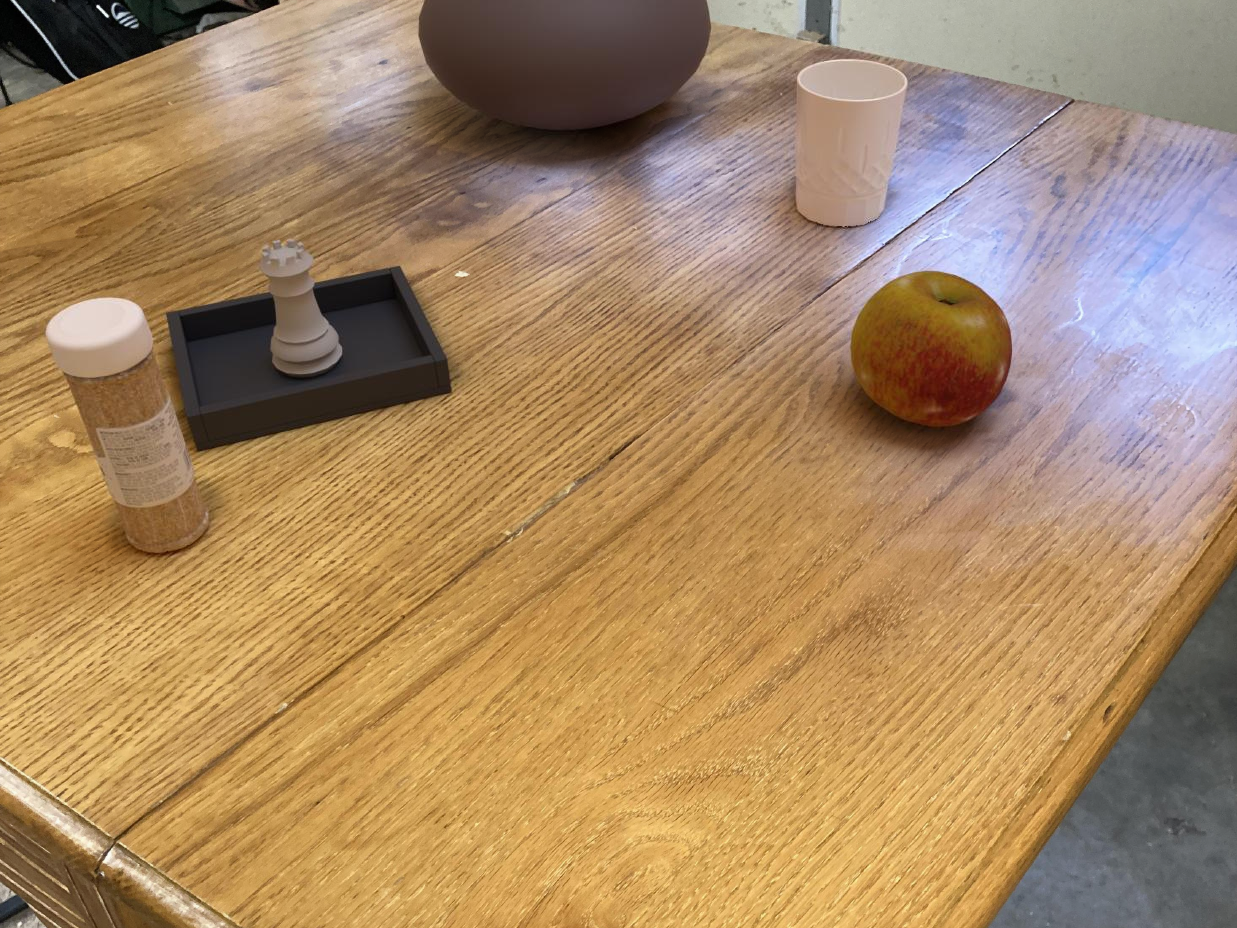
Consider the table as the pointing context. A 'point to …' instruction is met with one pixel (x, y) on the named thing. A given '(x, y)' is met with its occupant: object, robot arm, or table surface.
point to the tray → (273, 401)
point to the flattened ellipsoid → (564, 56)
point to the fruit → (932, 348)
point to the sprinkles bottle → (129, 421)
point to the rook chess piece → (297, 314)
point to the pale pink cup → (846, 139)
